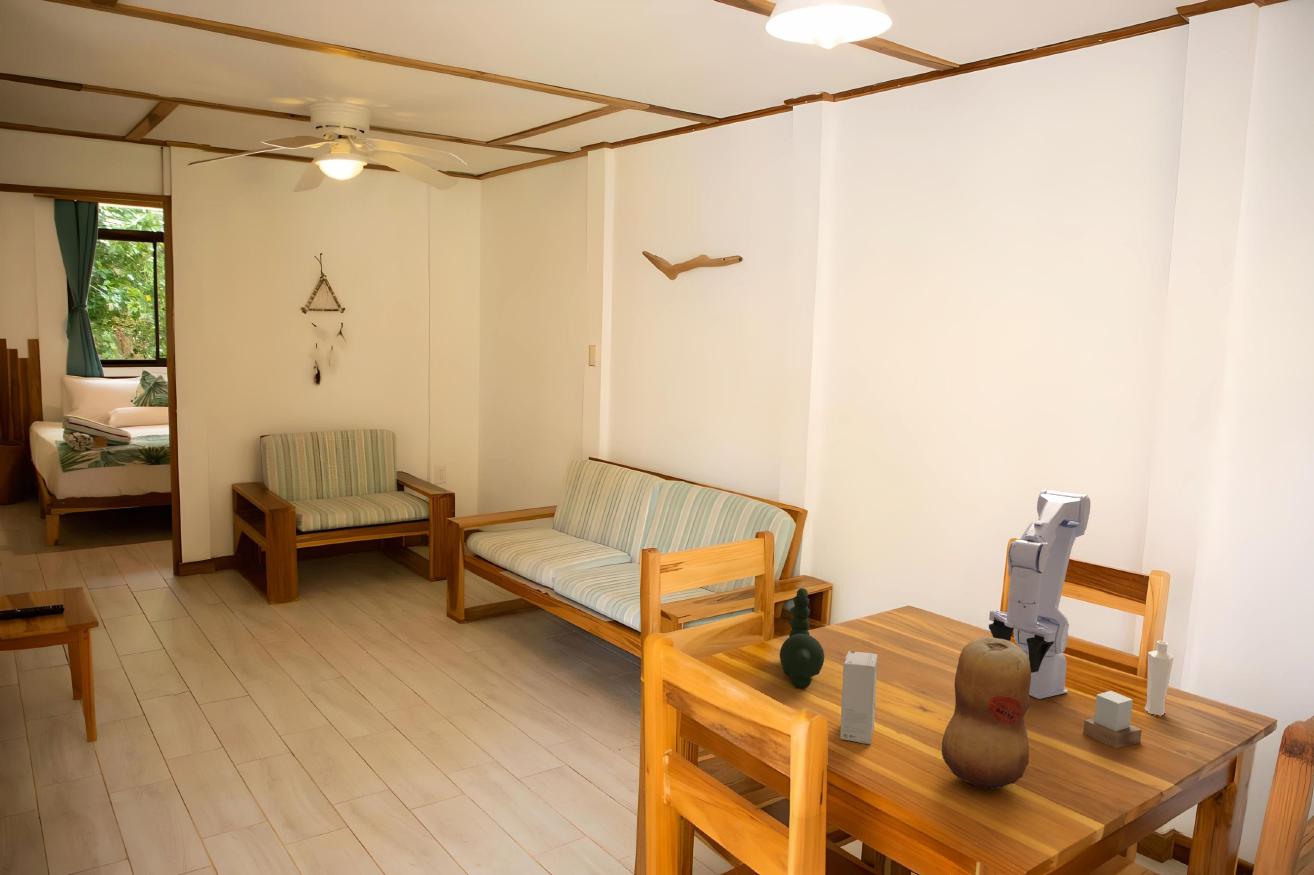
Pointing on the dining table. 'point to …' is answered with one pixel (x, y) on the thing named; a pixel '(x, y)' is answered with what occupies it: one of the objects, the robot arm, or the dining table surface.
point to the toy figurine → (801, 645)
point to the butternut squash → (989, 714)
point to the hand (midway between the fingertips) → (1017, 664)
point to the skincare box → (858, 697)
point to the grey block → (1113, 710)
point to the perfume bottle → (1158, 678)
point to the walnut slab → (1112, 734)
